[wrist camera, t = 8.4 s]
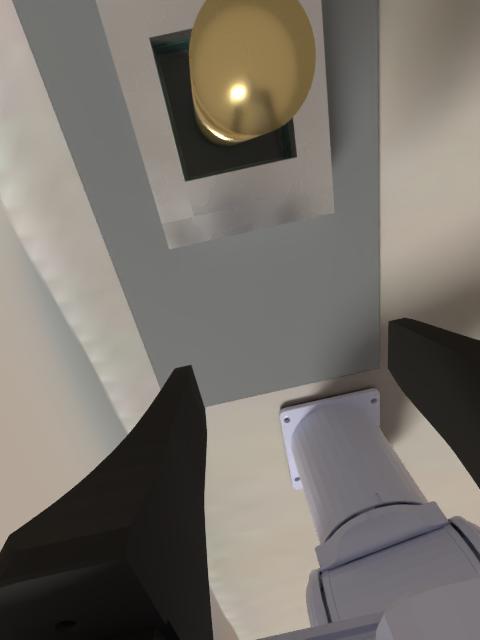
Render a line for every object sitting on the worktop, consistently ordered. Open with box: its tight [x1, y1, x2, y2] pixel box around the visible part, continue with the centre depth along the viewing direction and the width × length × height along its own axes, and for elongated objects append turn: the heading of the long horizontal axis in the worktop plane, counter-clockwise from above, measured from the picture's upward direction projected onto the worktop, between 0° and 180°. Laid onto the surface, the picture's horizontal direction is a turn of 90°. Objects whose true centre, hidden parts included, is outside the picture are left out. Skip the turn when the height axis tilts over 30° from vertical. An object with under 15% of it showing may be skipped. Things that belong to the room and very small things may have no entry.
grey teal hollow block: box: [96, 0, 335, 249], centre depth 15 cm, size 13×8×4 cm, turn 11°
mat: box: [12, 0, 379, 407], centre depth 19 cm, size 26×16×1 cm, turn 11°
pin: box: [189, 0, 316, 147], centre depth 12 cm, size 3×3×10 cm
